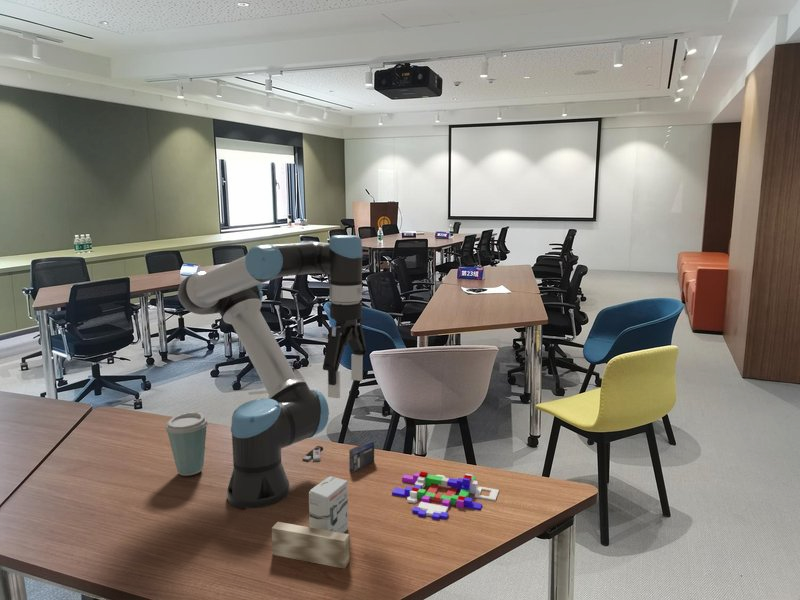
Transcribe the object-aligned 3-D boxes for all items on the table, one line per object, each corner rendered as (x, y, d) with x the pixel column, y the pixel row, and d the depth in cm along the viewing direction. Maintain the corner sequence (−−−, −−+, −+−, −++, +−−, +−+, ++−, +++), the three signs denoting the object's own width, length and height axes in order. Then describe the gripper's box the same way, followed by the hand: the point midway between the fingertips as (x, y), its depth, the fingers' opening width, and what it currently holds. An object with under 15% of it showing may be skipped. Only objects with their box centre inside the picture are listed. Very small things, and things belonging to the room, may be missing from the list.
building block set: (381, 510, 136) (381, 492, 135) (409, 472, 155) (409, 457, 154) (485, 530, 128) (485, 512, 127) (500, 488, 147) (501, 472, 146)
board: (272, 554, 117) (271, 528, 116) (278, 547, 120) (277, 521, 119) (344, 568, 113) (344, 541, 112) (349, 561, 115) (349, 534, 114)
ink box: (327, 549, 119) (327, 497, 117) (308, 543, 122) (307, 491, 120) (349, 528, 127) (348, 479, 125) (330, 523, 129) (329, 474, 127)
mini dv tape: (353, 472, 154) (353, 451, 153) (349, 470, 155) (349, 450, 154) (374, 462, 160) (374, 442, 159) (370, 460, 161) (370, 440, 160)
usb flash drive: (316, 448, 169) (316, 445, 169) (332, 451, 167) (332, 448, 167) (301, 460, 161) (301, 457, 161) (318, 463, 159) (318, 460, 159)
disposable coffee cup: (192, 482, 147) (188, 427, 145) (159, 475, 151) (155, 422, 149) (218, 465, 157) (215, 413, 155) (186, 459, 161) (183, 408, 158)
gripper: (338, 312, 120) (338, 407, 124) (379, 294, 144) (378, 375, 147) (306, 309, 123) (307, 403, 126) (352, 292, 146) (352, 371, 150)
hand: (346, 388), depth 137 cm, fingers open, 13 cm apart
